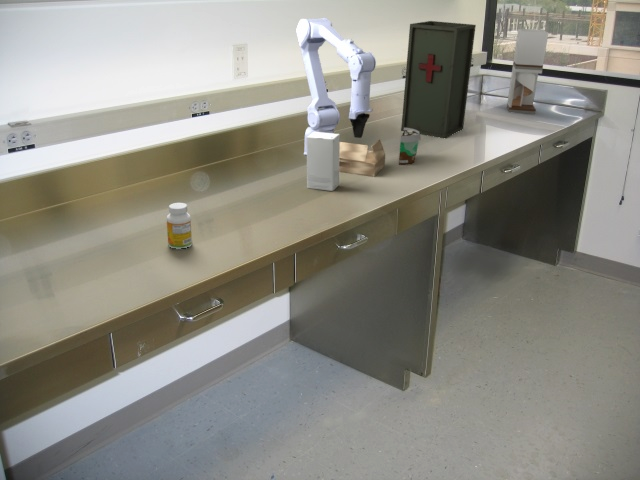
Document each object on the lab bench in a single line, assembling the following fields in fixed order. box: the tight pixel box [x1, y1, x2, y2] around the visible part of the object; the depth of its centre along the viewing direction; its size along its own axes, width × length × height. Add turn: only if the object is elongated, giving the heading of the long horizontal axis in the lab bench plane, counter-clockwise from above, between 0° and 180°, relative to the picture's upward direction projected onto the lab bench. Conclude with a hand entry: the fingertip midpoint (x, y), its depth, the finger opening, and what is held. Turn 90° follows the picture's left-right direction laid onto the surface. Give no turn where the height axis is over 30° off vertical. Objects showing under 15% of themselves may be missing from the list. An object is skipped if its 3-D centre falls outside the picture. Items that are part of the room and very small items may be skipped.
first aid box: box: [400, 20, 477, 139], centre depth 251 cm, size 18×18×40 cm
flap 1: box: [339, 141, 369, 162], centre depth 202 cm, size 10×1×5 cm, turn 69°
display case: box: [506, 28, 550, 115], centre depth 291 cm, size 11×11×35 cm
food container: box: [398, 128, 422, 166], centre depth 216 cm, size 12×6×10 cm, turn 168°
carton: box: [339, 150, 386, 178], centre depth 210 cm, size 16×15×4 cm
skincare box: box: [306, 132, 341, 192], centre depth 188 cm, size 8×7×16 cm
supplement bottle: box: [166, 202, 193, 250], centre depth 148 cm, size 5×5×10 cm
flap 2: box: [370, 139, 386, 162], centre depth 204 cm, size 1×9×5 cm, turn 158°
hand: (358, 137), depth 206 cm, fingers closed
